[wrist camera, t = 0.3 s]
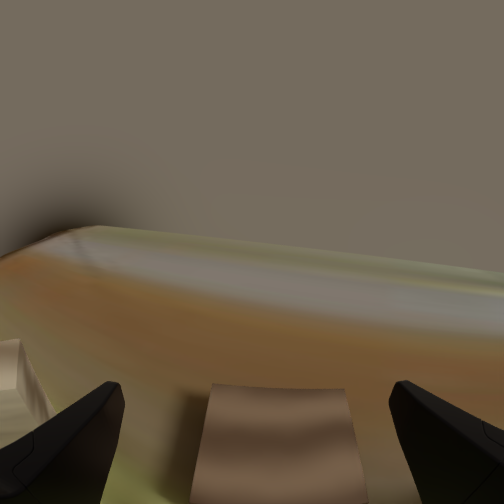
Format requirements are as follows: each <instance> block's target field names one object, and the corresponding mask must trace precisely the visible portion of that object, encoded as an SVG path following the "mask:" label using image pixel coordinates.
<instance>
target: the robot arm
mask: <svg viewBox="0 0 504 504" xmlns="http://www.w3.org/2000/svg"><path fill="white" fill-rule="evenodd" d="M124 408H125V401H124V397H123V393H122V390H121V386H120V384H119V383H117V382H111V381H107V382H105V383H103V384H102V385H100V386H99V387H97V388H96V389H95V390H93V391H92V392H90V393H89V394H87V395H86V396H84V397H83V398H81V399H80V400H78V401H77V402H75V403H74V404H72V405H71V406H69V407H68V408H66V409H64V410H63V411H61V412H60V413H58V414H57V415H55V416H54V417H52V418H51V419H49V420H48V421H46V422H45V423H43V424H42V425H40V426H38V427H37V428H35V429H34V430H33V431H31V432H29V433H27V434H26V435H24V436H23V437H21V438H19V439H18V440H16V441H14V442H13V443H11V444H9V445H7V446H5V447H3V448H1V449H0V504H100V502H101V498H102V495H103V491H104V488H105V484H106V481H107V477H108V474H109V471H110V467H111V464H112V461H113V458H114V454H115V451H116V448H117V444H118V439H119V434H120V428H121V423H122V418H123V413H124ZM389 408H390V411H391V415H392V418H393V422H394V425H395V429H396V433H397V436H398V439H399V442H400V445H401V447H402V450H403V453H404V455H405V458H406V460H407V463H408V465H409V468H410V471H411V473H412V476H413V479H414V481H415V484H416V487H417V490H418V492H419V495H420V498H421V501H422V504H504V430H501V429H499V428H497V427H495V426H493V425H491V424H489V423H487V422H485V421H481V419H479V418H477V417H475V416H473V415H471V414H469V413H467V412H465V411H464V410H462V409H460V408H458V407H456V406H454V405H452V404H450V403H448V402H447V401H445V400H443V399H441V398H439V397H437V396H435V395H433V394H432V393H430V392H428V391H426V390H424V389H422V388H421V387H419V386H417V385H415V384H413V383H412V382H410V381H408V380H404V381H398V382H396V383H395V385H394V388H393V390H392V393H391V395H390V398H389Z"/></svg>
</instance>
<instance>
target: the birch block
mask: <svg viewBox="0 0 504 504" xmlns="http://www.w3.org/2000/svg"><path fill="white" fill-rule="evenodd" d="M55 415H57V414H56V412H55V410H54V408H53V407H52V405H51V403H50V401H49V399H48V397H47V396H46V394H45V392H44V390H43V388H42V386H41V384H40V382H39V380H38V378H37V376H36V374H35V372H34V370H33V367H32V365H31V363H30V361H29V359H28V356H27V354H26V352H25V349H24V347H23V344H22V342H21V340H20V338H19V339H13V340H7V341H1V342H0V449H1V448H3V447H5V446H7V445H9V444H11V443H13V442H14V441H16V440H18V439H19V438H21V437H23V436H24V435H26V434H27V433H29V432H31V431H33V430H34V429H35V428H37V427H38V426H40V425H42V424H43V423H45V422H46V421H48V420H49V419H51V418H52V417H54V416H55Z"/></svg>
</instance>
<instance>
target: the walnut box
mask: <svg viewBox="0 0 504 504" xmlns="http://www.w3.org/2000/svg"><path fill="white" fill-rule="evenodd" d="M368 503H369V501H368V496H367V490H366V485H365V480H364V475H363V470H362V465H361V460H360V455H359V450H358V446H357V441H356V437H355V432H354V428H353V423H352V419H351V415H350V411H349V406H348V402H347V398H346V394H345V390H344V389H283V388H261V387H246V386H233V385H223V384H213V383H212V388H211V393H210V398H209V402H208V407H207V412H206V417H205V422H204V427H203V432H202V437H201V442H200V447H199V453H198V458H197V463H196V468H195V473H194V478H193V483H192V489H191V494H190V499H189V504H368Z"/></svg>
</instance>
